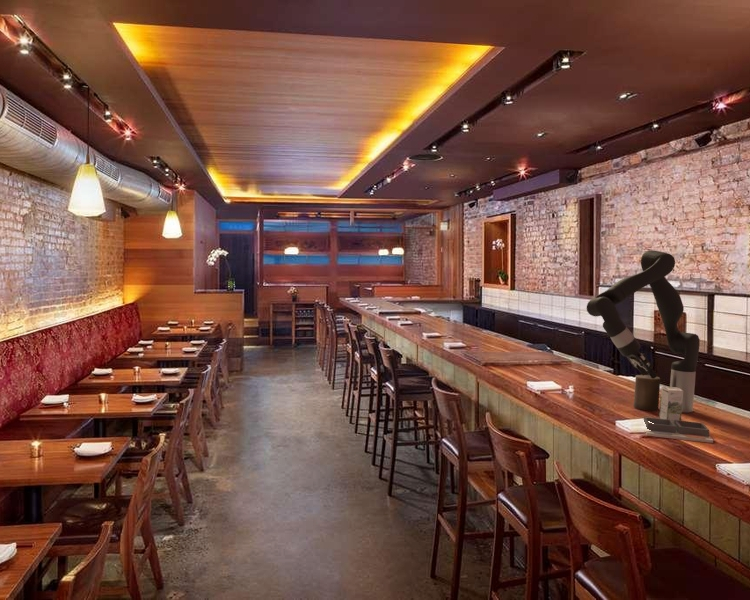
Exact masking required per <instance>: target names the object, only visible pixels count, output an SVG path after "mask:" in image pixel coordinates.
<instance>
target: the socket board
mask: <svg viewBox="0 0 750 600" xmlns="http://www.w3.org/2000/svg"><path fill="white" fill-rule="evenodd" d="M643 420H644V422H645V424H646V427H647V429H649V430H651V431H646V433H645V435H646V436H648V437H657V438H666V439H675V440H681V441H682V440H683V441H684V440H685V441H691V442H701V443H709V444H710V443H711V444H714V439H713V438H712V437H711V436H710V429H709V427H707V426H706V424H705V423H703V422H697V421H696V422H695V421H689V420H688V421H687V420H681V421H678V420H674V423H673V421H672V420H669V419H659V417H649V416H648V417H646V416H644V417H643V419H642V421H643ZM648 421H650V422H652V423H654V424H652V423H649V422H648Z"/></svg>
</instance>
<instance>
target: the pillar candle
mask: <svg viewBox="0 0 750 600" xmlns="http://www.w3.org/2000/svg"><path fill="white" fill-rule="evenodd" d="M634 380H635V383H634V395H633V396H634V399H633V407H635V409H637V410H641V411H646V412H647V411H648V412H657V410H658V411H659V410H660V391H661V387H660V386H661V378H660V377H659V376H657V377H655V378H654V379H653V378H651V377H650V375H649V374H648V373H647V374H645V375H642V374H637V375H635V379H634Z"/></svg>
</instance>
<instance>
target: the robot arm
mask: <svg viewBox="0 0 750 600" xmlns="http://www.w3.org/2000/svg"><path fill="white" fill-rule="evenodd" d="M675 266H676V260H675V257H674V256H673V255H672V254H670V253H668V252H663V251H658V250H647V251H644V252H643V254H642V255H641V258H640V267H641V270H642V271H640V272H638V273H636V274H633V275H630V276H626V277H624V278H622V279H620V280H619V281H617V282H616V283H614V284H613V285H612V286H610V287H609V288H608V289H607V290H605V291H602V292H601V293H599V294H597V295H596V296H594V297H592V298H591V299H590V300H589V301H588V303H586V312H587V313H588V314H589V315H590V316H592V317H602V320H603V322H602V328H603V329H604V331H605V332H606V333H607V335H608V336H609V337H610V339H611V342H612V343H613V344H614V346H615V347H616V349H617V350H618V351H619V352H620V354H621V355H622V356H623V357H626V358H627V360H628V362H630V364H631V365H632V366H633V367H634V368H636V369H637V370H638V371H639V373H640V375H648V374H649V375H650V377H651V378H653V379H654V378H655V377H658V374H657V372H656V371H655V370H654V369H653V368H654V367H655V366H654V365H653V364H652V362H651V361H650V359H649V358H648V357H647V356H646V354H645V353H642V352H640V349H641V344H640V343H639V341H638V340H637V338H636V337H635V336H634V334H633V333H632V331H631V330H630V329H629V328H628V327H627V326H626V324H625V323H624V322H623V321H622V319H621V318H620V315H619V312H618V310H617V308H616V305H619V304H621V303H623V302H624V301H626V299H628V298H630V297H631V296H632V295H633V294H635V293H636V292H638V291H639V290H642V289H643V288H645V287H647V286H648V285H649V286H650V290H651V292H652V294H653V296H654V299H655V304H656V306H657V309H658V313H659V315H660V317H661V320H662V324H663V326H664V331H665V335H666V340H667V343H668V344H667V345H668V348H669V349H670V351H671V352H672V353H675V354H681V355H684V357H683V358H682V359H681V360H677V361H672V363H671V368H670V371H671V372H670V379H669V380H670V381H669V382H670V383H669V387H677V388H679V389H681V390H683V401H682V412H681V413H693V412H694V411H693V409H694V399H695V398H694V397H695V386H696V375H697V373H696V371H697V367H698V366H697V365H698V361H699V352H700V342H701V341H700V337H699V335H698V334H696V333H693V332H692V333H691V332H685V331H684V332H683V331H680V330H679V328H678V323H679V322H680V319H681V317H682V316H683V314H684V310H685V309H684V304H683V300H682V298H681V295H680V294H679V292H678V291H677V289H676V288H675V287H674V286H673V285H672V284H671V283H670V281H668V279H667V278H666V276H668V275H669V274H671V273H672V271H673V270H674V269H675Z"/></svg>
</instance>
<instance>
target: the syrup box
mask: <svg viewBox="0 0 750 600" xmlns="http://www.w3.org/2000/svg"><path fill="white" fill-rule="evenodd" d="M682 401H683V390H681V389H679V388H677V387H670V386H661V387H660V397H659V410H658V412H659V413H658V418H659V419H669V420H672V421H673V423H674V420H678V421H682V413H683V412H682Z"/></svg>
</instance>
